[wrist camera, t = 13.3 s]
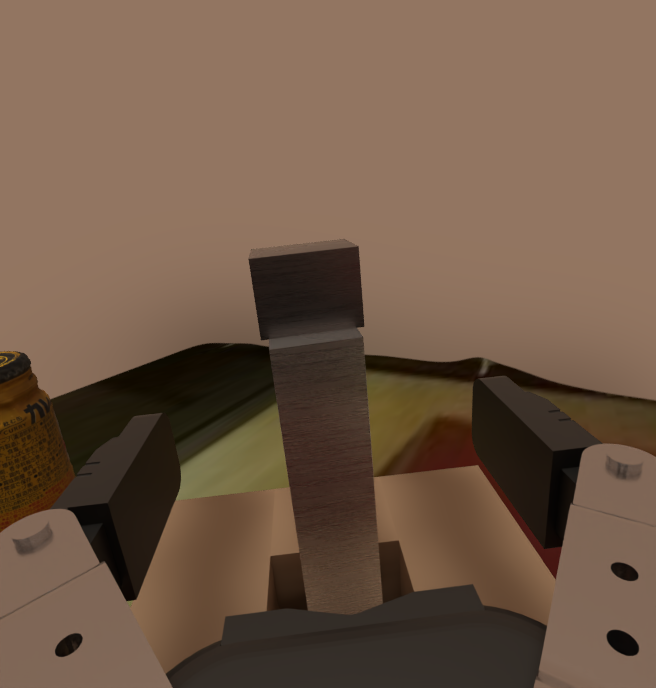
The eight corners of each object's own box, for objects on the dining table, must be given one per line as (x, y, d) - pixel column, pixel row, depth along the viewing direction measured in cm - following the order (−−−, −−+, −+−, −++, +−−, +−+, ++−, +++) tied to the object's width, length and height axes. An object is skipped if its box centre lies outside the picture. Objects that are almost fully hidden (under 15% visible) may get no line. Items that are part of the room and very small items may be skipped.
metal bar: (329, 796, 15) (246, 266, 9) (315, 667, 19) (252, 245, 13) (403, 779, 15) (369, 252, 9) (374, 655, 19) (338, 235, 13)
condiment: (-17, 525, 30) (-86, 362, 26) (117, 480, 34) (74, 331, 30) (-41, 604, 24) (-135, 406, 20) (126, 539, 28) (74, 360, 24)
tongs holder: (19, 1202, 9) (-71, 1110, 8) (191, 576, 24) (173, 500, 23) (754, 1072, 10) (815, 962, 8) (475, 540, 25) (477, 465, 23)
